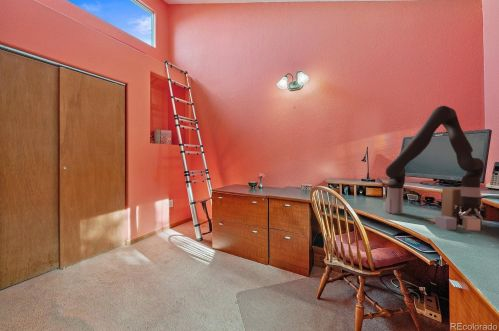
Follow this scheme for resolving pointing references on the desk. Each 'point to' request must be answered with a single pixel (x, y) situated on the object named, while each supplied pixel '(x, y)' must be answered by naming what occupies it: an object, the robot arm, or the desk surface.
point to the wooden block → (451, 200)
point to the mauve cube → (445, 222)
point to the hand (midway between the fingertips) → (469, 225)
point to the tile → (431, 220)
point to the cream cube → (470, 223)
